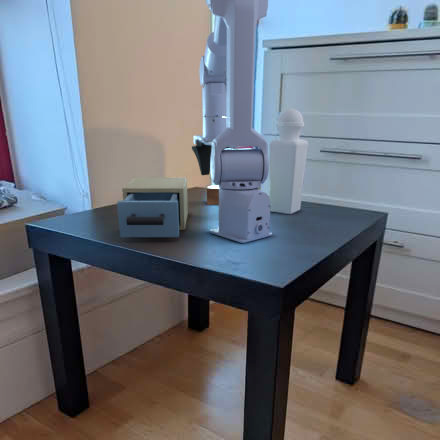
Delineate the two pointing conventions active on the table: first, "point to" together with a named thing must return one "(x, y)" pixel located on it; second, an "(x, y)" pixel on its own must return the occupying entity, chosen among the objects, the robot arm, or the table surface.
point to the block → (212, 195)
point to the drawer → (149, 215)
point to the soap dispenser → (287, 164)
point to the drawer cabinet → (161, 191)
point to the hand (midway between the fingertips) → (214, 176)
